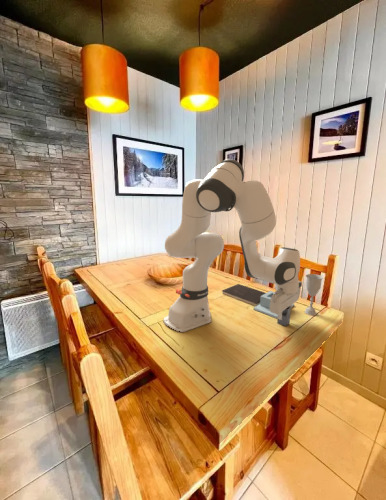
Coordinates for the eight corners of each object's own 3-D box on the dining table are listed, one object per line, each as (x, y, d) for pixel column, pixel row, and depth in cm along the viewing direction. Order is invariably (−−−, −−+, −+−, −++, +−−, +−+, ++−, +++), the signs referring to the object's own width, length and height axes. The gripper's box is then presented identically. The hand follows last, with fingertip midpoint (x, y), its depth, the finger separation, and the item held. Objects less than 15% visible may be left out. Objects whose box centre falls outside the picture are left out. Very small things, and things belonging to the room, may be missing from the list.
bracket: (286, 326, 95) (287, 309, 94) (272, 321, 100) (274, 304, 98) (289, 324, 97) (290, 307, 95) (276, 319, 102) (277, 302, 100)
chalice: (312, 317, 102) (316, 280, 98) (298, 311, 108) (302, 275, 104) (322, 314, 105) (326, 277, 101) (309, 308, 111) (312, 273, 107)
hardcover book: (255, 307, 113) (256, 303, 113) (221, 294, 130) (221, 290, 130) (272, 298, 124) (272, 294, 123) (238, 287, 141) (238, 283, 140)
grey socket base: (276, 318, 102) (277, 306, 101) (253, 309, 110) (254, 298, 109) (294, 305, 114) (295, 294, 113) (271, 298, 122) (272, 288, 121)
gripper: (281, 295, 85) (279, 328, 88) (303, 281, 98) (301, 310, 101) (266, 290, 89) (264, 322, 92) (289, 278, 103) (287, 306, 106)
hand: (283, 316), depth 97 cm, fingers open, 5 cm apart
